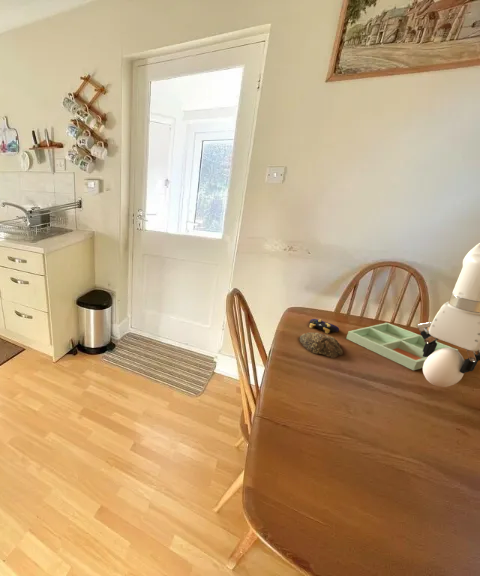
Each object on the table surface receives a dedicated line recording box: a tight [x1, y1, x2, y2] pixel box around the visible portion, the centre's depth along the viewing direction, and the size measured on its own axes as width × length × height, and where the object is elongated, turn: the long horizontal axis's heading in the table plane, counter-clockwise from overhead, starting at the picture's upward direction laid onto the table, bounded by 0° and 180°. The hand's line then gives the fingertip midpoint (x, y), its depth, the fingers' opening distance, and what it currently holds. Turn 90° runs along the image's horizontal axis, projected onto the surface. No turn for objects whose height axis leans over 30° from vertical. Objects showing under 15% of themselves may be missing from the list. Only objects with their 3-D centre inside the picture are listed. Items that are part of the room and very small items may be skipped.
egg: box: [422, 347, 465, 388], centre depth 85 cm, size 7×7×12 cm
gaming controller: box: [308, 318, 340, 334], centre depth 122 cm, size 10×5×6 cm
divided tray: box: [345, 322, 459, 371], centre depth 108 cm, size 20×20×4 cm
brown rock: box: [299, 332, 343, 358], centre depth 109 cm, size 13×12×5 cm
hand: (445, 363), depth 84 cm, fingers closed on egg, 7 cm apart
